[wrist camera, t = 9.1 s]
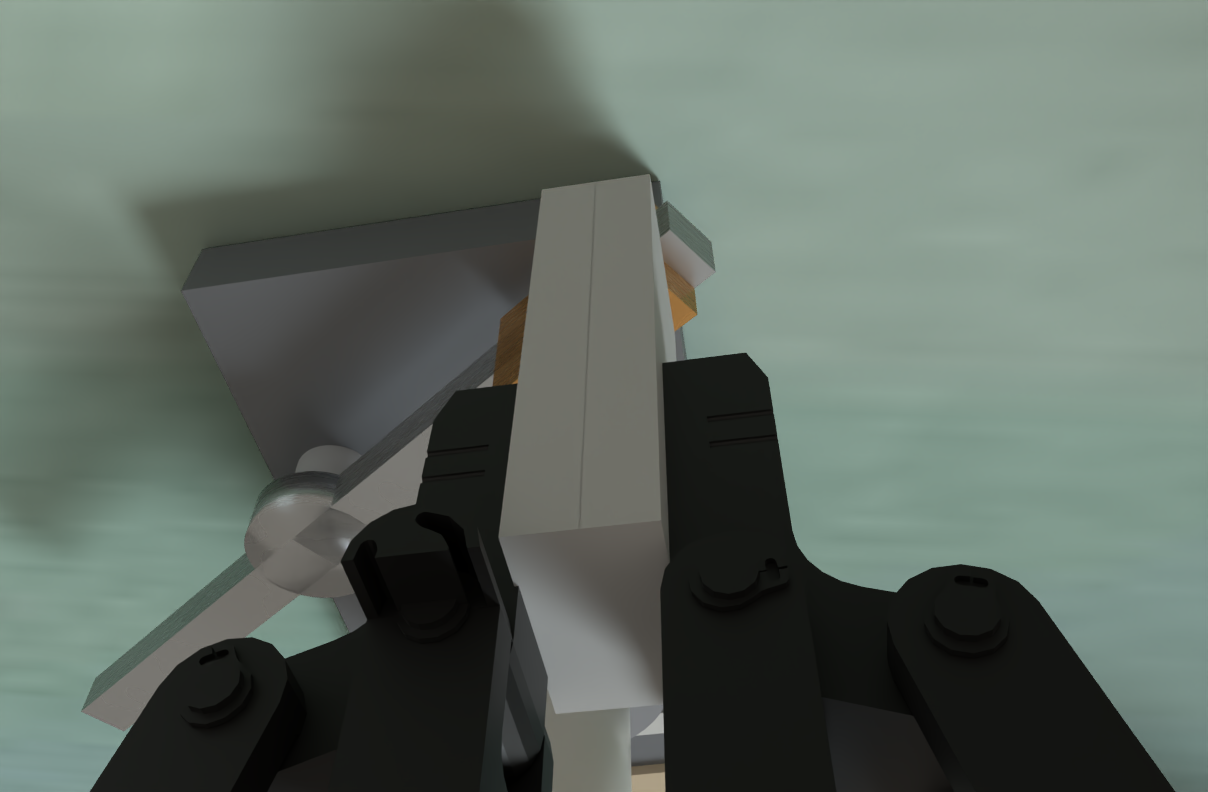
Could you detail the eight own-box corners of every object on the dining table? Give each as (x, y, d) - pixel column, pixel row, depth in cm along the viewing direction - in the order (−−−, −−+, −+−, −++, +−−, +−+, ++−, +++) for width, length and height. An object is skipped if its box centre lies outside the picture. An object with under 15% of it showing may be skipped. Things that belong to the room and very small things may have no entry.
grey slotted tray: (659, 180, 23) (665, 256, 21) (757, 827, 39) (766, 908, 37) (202, 249, 24) (161, 328, 22) (482, 851, 40) (475, 931, 38)
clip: (739, 248, 21) (753, 327, 19) (175, 687, 30) (144, 773, 28) (631, 146, 20) (634, 220, 18) (74, 638, 29) (34, 724, 27)
